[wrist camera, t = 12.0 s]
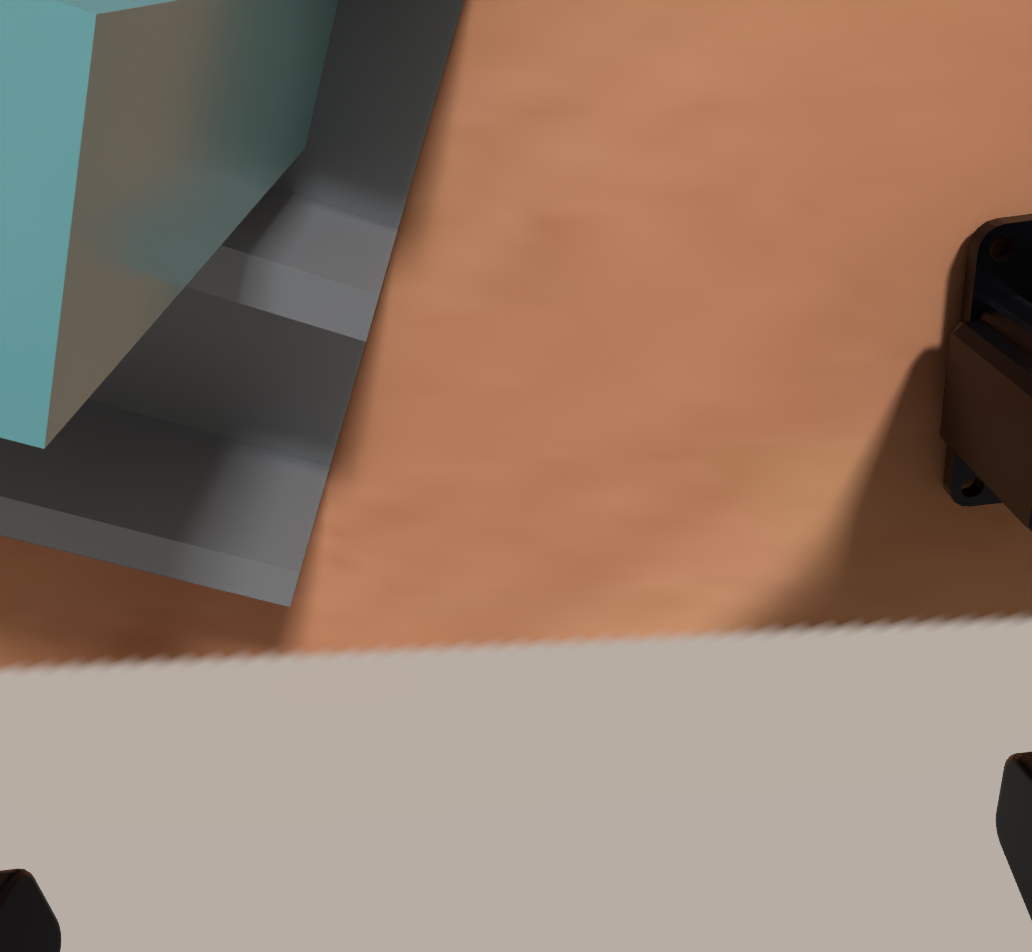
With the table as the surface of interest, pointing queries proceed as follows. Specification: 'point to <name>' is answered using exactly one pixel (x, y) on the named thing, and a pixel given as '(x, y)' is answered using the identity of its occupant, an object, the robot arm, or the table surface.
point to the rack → (251, 346)
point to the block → (131, 170)
